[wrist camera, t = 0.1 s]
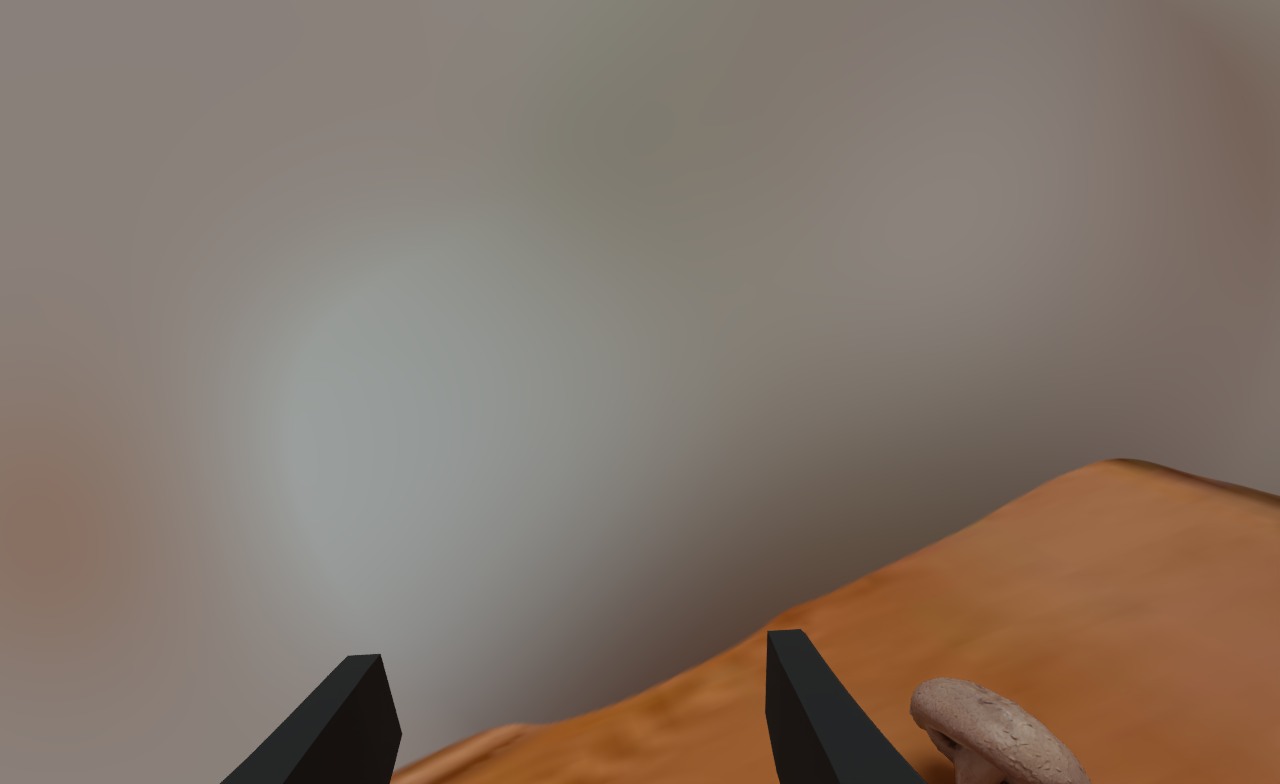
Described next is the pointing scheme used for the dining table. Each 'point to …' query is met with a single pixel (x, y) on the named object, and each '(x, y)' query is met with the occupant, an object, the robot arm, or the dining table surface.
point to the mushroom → (991, 736)
